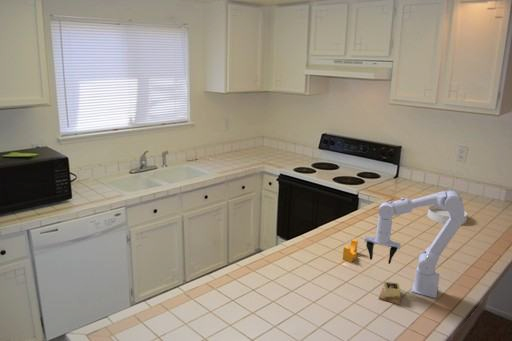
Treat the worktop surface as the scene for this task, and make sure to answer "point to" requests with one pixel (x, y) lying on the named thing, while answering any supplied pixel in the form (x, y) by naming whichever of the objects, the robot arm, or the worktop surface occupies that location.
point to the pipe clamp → (350, 251)
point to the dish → (440, 214)
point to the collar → (391, 290)
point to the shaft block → (396, 301)
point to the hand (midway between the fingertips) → (380, 260)
